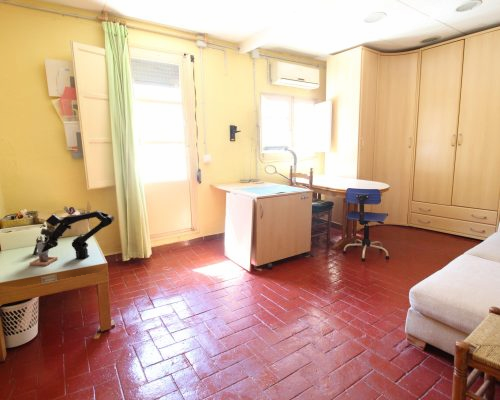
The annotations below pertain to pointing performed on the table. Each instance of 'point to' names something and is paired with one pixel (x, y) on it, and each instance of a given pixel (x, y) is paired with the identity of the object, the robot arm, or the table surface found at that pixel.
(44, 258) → the canister
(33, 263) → the tray
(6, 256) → the table surface
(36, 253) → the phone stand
